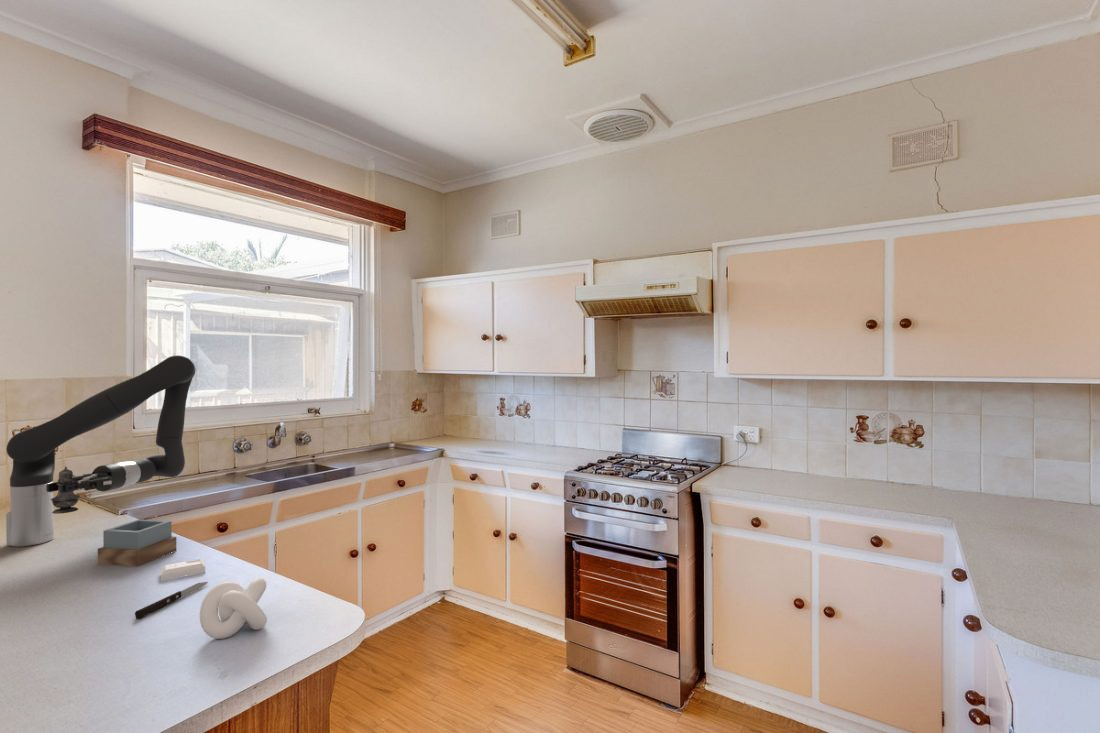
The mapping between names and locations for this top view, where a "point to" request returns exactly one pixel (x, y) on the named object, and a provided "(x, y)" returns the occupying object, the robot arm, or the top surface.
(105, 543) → the blue-grey square tray
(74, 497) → the salt shaker
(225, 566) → the top surface
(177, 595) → the kitchen knife
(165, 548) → the tower base
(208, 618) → the white knot sculpture
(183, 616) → the top surface
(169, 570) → the soap bar
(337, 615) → the top surface
